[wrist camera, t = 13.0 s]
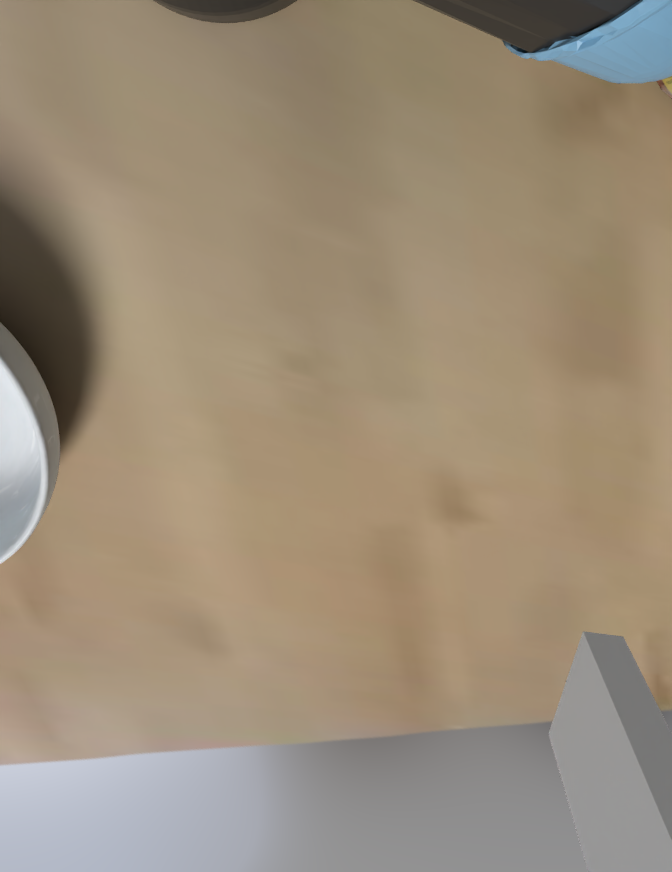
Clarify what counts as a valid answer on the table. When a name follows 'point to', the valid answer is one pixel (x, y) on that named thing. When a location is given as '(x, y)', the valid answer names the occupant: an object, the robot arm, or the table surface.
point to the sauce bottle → (666, 85)
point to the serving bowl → (24, 445)
